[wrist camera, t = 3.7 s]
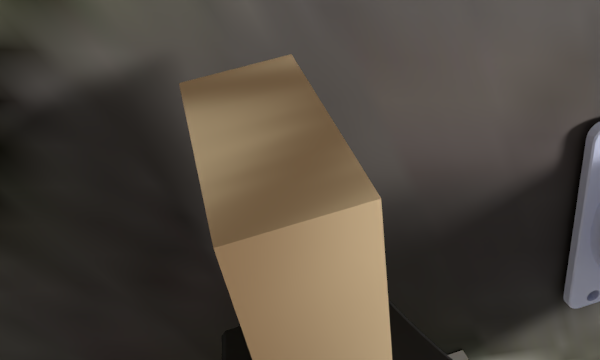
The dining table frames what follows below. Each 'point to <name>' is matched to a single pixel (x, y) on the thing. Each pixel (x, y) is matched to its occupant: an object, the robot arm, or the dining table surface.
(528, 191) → the dining table surface
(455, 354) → the floor board
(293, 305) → the blade batten
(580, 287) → the robot arm
